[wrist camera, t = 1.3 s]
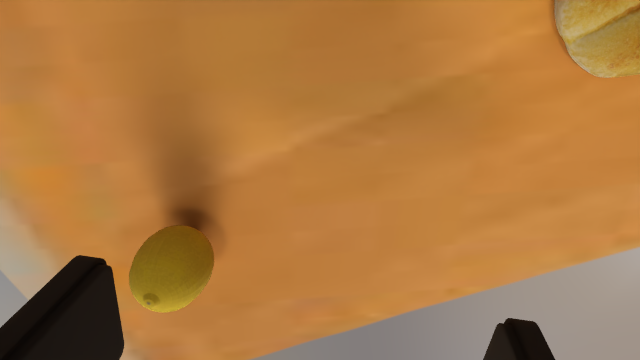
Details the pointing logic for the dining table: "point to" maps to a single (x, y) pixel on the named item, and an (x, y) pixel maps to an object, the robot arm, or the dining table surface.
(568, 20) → the bread roll
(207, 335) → the dining table surface
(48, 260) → the dining table surface
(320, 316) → the dining table surface
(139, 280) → the lemon
